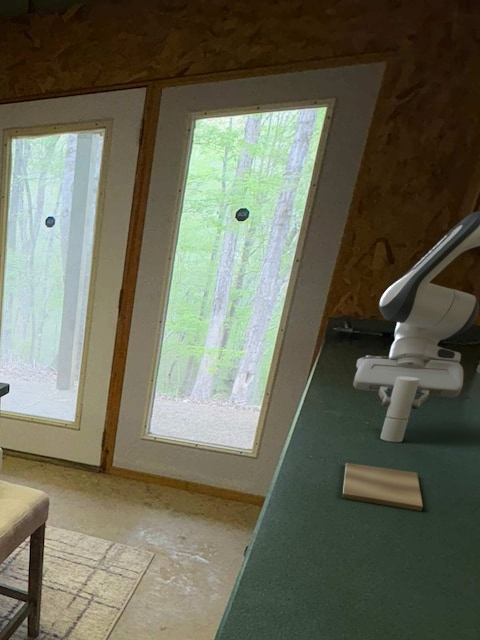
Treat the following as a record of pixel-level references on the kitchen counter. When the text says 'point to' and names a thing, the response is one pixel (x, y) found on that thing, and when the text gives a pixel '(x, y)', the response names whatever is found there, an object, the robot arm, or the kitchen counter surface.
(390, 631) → the kitchen counter surface
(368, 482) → the birch board
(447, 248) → the robot arm
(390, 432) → the tube
